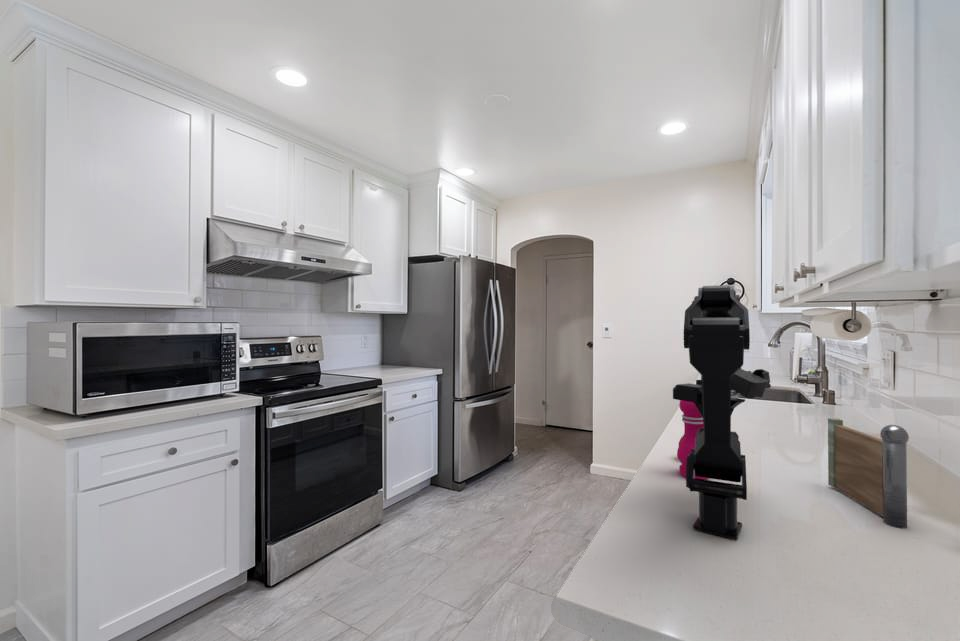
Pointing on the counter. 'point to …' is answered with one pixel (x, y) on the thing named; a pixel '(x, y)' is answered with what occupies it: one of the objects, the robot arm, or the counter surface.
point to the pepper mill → (689, 433)
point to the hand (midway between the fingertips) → (717, 435)
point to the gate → (855, 464)
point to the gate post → (894, 475)
